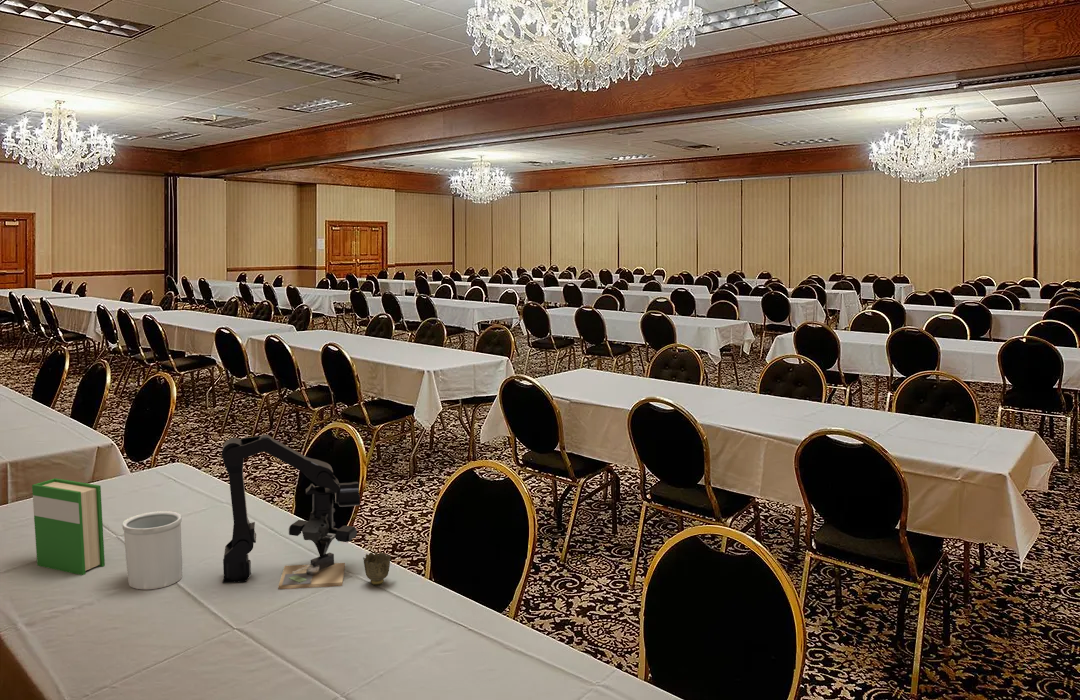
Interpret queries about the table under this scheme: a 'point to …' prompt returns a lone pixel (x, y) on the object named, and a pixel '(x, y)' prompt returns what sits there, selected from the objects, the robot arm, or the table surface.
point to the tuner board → (312, 577)
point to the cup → (377, 567)
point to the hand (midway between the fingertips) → (322, 559)
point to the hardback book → (68, 525)
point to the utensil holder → (153, 549)
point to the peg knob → (318, 564)
